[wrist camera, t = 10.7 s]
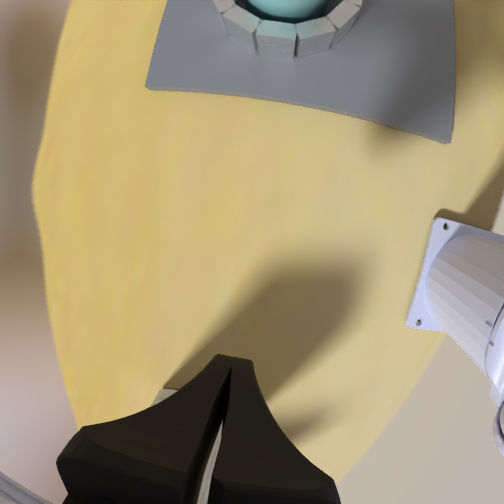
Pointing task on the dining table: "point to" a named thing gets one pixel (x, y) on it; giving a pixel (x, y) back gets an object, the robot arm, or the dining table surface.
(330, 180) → the dining table surface
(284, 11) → the plug
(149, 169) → the dining table surface
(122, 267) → the dining table surface
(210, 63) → the board
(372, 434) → the dining table surface
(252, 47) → the grey segmented ring
